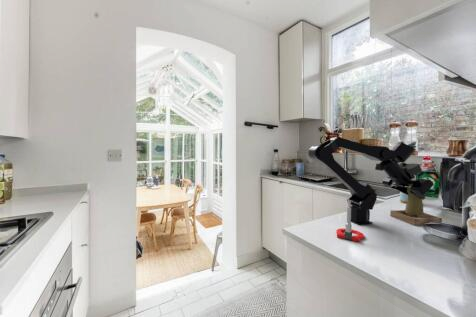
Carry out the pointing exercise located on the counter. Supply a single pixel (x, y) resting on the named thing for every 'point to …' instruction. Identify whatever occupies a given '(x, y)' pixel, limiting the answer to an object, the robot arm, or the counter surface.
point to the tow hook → (349, 228)
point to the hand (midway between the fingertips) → (417, 197)
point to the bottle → (403, 196)
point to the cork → (414, 204)
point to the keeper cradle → (414, 221)
